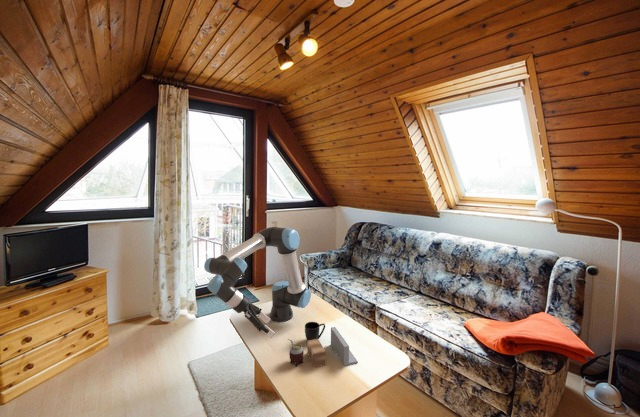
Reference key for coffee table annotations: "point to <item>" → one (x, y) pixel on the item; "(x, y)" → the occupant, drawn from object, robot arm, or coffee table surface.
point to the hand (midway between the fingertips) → (270, 328)
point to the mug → (313, 330)
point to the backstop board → (341, 348)
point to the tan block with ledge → (316, 353)
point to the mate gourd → (296, 354)
